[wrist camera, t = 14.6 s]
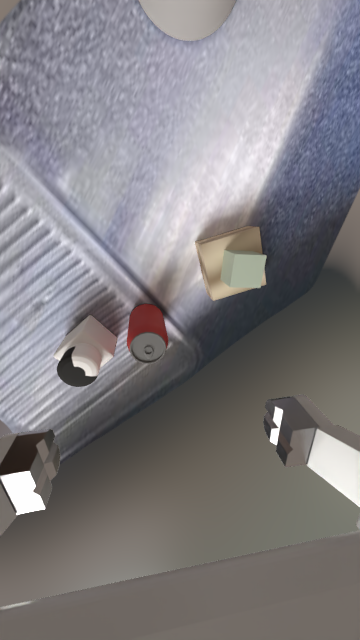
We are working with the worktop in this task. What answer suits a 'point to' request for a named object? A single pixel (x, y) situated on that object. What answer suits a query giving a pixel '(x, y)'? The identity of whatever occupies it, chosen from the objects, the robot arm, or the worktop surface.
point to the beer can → (147, 334)
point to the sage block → (242, 268)
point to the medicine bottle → (84, 352)
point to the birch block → (213, 258)
